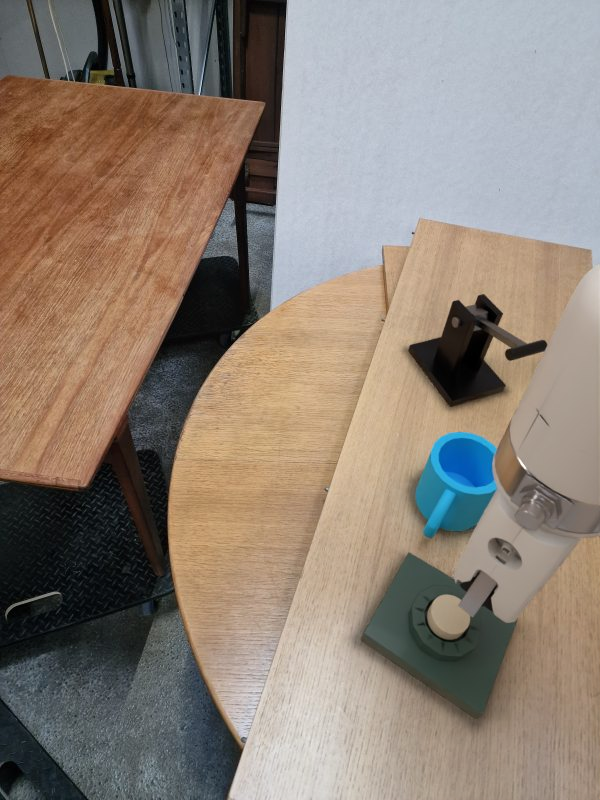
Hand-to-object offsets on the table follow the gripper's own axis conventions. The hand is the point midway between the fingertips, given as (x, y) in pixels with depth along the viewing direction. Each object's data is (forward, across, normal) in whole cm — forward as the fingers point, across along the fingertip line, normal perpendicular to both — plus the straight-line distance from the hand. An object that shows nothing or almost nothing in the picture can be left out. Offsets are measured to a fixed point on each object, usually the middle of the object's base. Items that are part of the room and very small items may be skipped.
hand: (480, 592), depth 43 cm
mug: (+12, +12, +8) cm, 18 cm away
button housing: (+12, 0, +1) cm, 12 cm away
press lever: (+1, +31, +16) cm, 35 cm away
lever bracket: (+11, +33, +20) cm, 40 cm away
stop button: (+8, 0, +1) cm, 8 cm away
